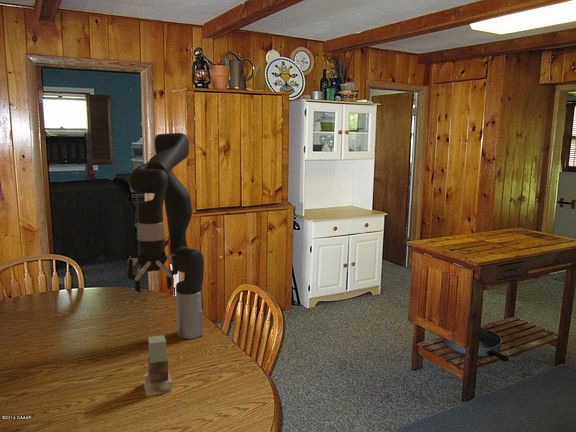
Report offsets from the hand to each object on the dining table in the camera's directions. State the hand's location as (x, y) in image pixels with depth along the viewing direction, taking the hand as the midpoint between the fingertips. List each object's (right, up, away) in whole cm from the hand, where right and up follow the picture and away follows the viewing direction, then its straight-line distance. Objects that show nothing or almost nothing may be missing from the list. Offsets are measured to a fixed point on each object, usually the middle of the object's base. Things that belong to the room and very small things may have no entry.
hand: (153, 290), depth 145 cm
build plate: (+2, -29, -2) cm, 29 cm away
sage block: (+2, -19, -4) cm, 20 cm away
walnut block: (+2, -25, -3) cm, 26 cm away
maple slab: (+2, -28, -2) cm, 28 cm away
